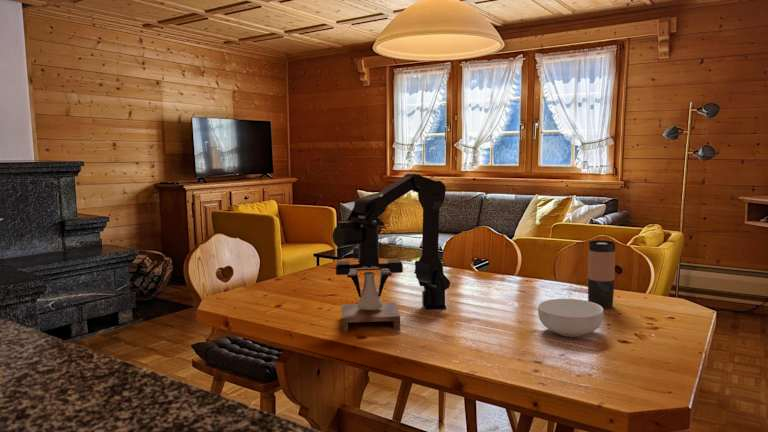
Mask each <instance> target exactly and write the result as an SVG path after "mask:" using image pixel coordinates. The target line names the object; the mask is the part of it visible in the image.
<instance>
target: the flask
mask: <svg viewBox="0 0 768 432" xmlns="http://www.w3.org/2000/svg"><path fill="white" fill-rule="evenodd" d="M375 275H376V272H373V271H366V272H365V271H364V273H363V276H364V282H363V286H362V287H363V288H362V290H361V297H359V299H358V303H357V304H358V306H357V308H359V309H363V310H376V309H379V308H381V307H382V306H383V304H382V303H383V301H382V299H381V296H380V297H379V290H377V289H378V288H377V287H376V282H375Z"/></svg>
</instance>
